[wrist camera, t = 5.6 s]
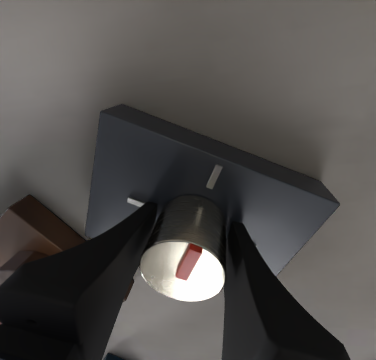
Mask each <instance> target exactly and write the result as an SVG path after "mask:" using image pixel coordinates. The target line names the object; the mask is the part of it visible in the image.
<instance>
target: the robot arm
mask: <svg viewBox="0 0 376 360" xmlns="http://www.w3.org/2000/svg"><path fill="white" fill-rule="evenodd" d="M157 205H158V204H157V203H153V202H146V203H145V204H143V205H142V206H141V207H140V208H139V209H137V210H136V211H135V212H133V213H132V214H131V215H129V216H128V217H127V218H125V219H124V220H123V221H121V222H120V223H118V224H117V225H115V226H113V227H112V228H110V229H109V230H107V231H105V232H104V233H102V234H100V235H98V236H96V237H94V238H92V239H90V240H88V241H86V242H84V243H82V244H79V245H77V246H75V247H72V248H70V249H67V250H65V251H62V252H59V253H56V254H54V255H51V256H47V257H44V258H41V259H38V260H34V261H31V262H27V263H24V264H23V265H22V266H20V267H19V268H18V269H17V270H16V271H15V272H14V273H13V274H12V275H11V276H10V277H9V278H8V279H6V280H5V281H4V282H3V283H2V284H1V285H0V322H1V324H0V360H102V357H103V355H104V352H105V349H106V346H107V343H108V340H109V338H110V335H111V332H112V329H113V327H114V324H115V321H116V318H117V316H118V313H119V310H120V308H121V305H122V303H123V300H124V297H125V295H126V292H127V290H128V287H129V285H130V282H131V280H132V278H133V276H134V274H135V272H136V270H137V268H138V266H139V263H140V257H141V255H142V253H143V251H144V248H145V246H146V244H147V242H148V239H149V237H150V235H151V233H152V231H153V228H154V226H155V223H156V214H157ZM226 270H227V278H226V282H225V285H224V298H225V313H224V334H223V350H222V360H350V357H349V355H348V353H347V351H346V349H345V347H344V345H343V344H342V343H341V342H340V341H339V340H337V339H336V338H335V337H334V336H333V335H332V334H331V333H330V332H328V331H327V330H326V329H325V328H324V327H323V326H322V325H320V324H319V323H318V322H317V321H316V320H315V319H314V318H313V317H312V316H311V315H310V314H309V313H308V312H307V311H306V310H305V309H304V308H303V307H302V306H301V305H300V304H299V303H298V302H297V301H296V300H295V299H294V297H293V296H292V295H291V294H290V293H289V292H288V291H287V290H286V288H285V287H284V286H283V285H282V284H281V282H280V281H279V280H278V279H277V277H276V276H275V275H274V273H273V272H272V271H271V269H270V268H269V267H268V265H267V264H266V262H265V261H264V259H263V257H262V256H261V254H260V253H259V251H258V249H257V248H256V246H255V244H254V242H253V241H252V239H251V237H250V235H249V233H248V231H247V229H246V227H245V225H244V224H243V223H240V222H236V221H232V224H231V227H230V230H229V233H228V236H227V239H226Z"/></svg>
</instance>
